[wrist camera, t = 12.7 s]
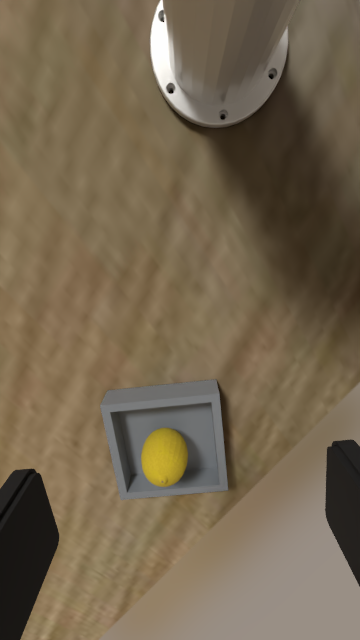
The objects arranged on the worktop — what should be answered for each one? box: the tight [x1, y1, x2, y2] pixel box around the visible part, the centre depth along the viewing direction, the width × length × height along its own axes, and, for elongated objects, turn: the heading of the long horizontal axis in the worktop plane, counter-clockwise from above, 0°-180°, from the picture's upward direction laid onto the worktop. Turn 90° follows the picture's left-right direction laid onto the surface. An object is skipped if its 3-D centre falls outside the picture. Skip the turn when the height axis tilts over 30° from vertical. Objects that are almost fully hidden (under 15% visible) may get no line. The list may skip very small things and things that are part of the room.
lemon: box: [141, 428, 188, 487], centre depth 35 cm, size 6×6×8 cm
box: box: [100, 379, 228, 500], centre depth 38 cm, size 14×14×4 cm
